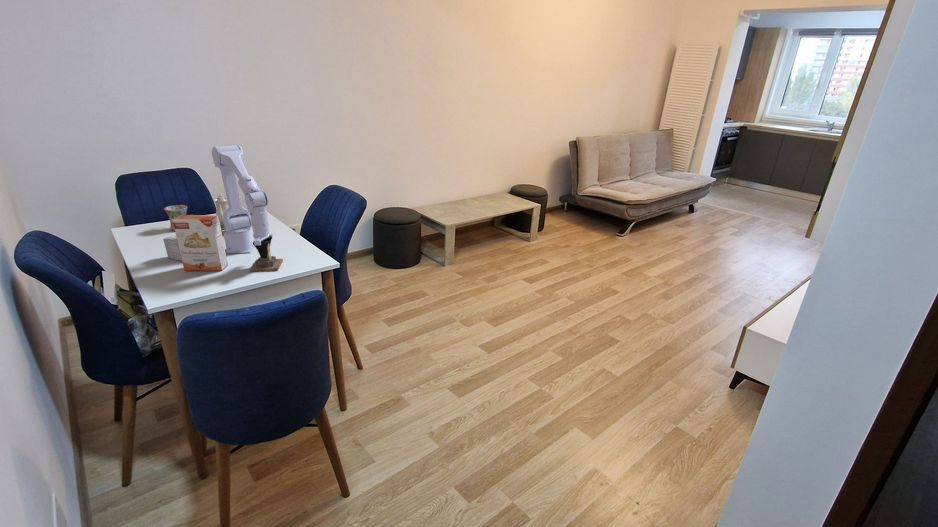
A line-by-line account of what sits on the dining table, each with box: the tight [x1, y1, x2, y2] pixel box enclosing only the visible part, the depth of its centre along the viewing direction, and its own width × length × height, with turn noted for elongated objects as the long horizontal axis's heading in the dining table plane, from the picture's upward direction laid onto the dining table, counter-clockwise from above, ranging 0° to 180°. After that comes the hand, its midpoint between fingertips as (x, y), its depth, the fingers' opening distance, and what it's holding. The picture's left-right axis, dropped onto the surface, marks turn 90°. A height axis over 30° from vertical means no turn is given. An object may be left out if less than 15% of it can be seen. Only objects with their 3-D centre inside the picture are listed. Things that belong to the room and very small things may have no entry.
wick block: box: [261, 244, 272, 261], centre depth 174 cm, size 3×3×8 cm
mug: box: [163, 204, 188, 232], centre depth 212 cm, size 12×9×11 cm
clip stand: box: [249, 255, 284, 273], centre depth 176 cm, size 10×10×3 cm
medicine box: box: [163, 235, 182, 261], centre depth 180 cm, size 8×4×9 cm, turn 71°
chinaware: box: [213, 193, 250, 232], centre depth 217 cm, size 28×17×17 cm, turn 15°
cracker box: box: [172, 214, 229, 272], centre depth 169 cm, size 14×6×21 cm, turn 94°
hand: (265, 256), depth 175 cm, fingers closed on wick block, 3 cm apart
